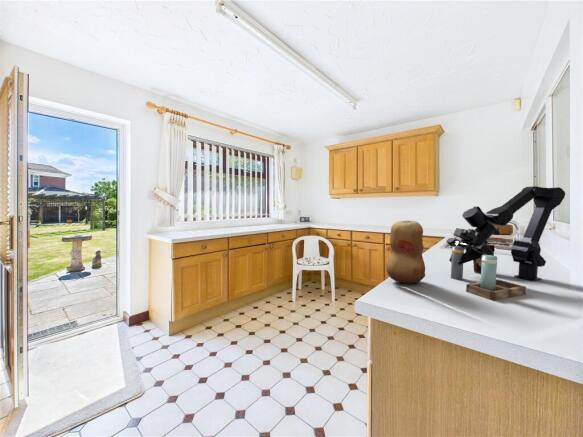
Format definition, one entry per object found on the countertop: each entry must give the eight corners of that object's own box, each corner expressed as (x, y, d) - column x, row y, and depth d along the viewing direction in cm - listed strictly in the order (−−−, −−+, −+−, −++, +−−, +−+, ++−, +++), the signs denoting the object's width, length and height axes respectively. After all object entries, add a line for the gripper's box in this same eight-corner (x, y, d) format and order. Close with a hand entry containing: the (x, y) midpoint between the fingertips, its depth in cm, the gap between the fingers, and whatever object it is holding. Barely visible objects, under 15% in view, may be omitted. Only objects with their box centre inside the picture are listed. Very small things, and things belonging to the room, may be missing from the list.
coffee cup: (499, 275, 107) (501, 246, 106) (480, 275, 108) (481, 246, 107) (484, 270, 116) (485, 242, 115) (466, 270, 116) (467, 242, 115)
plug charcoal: (455, 276, 103) (456, 245, 102) (465, 279, 99) (466, 247, 98) (448, 277, 102) (449, 246, 101) (457, 280, 98) (459, 248, 97)
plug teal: (485, 291, 86) (487, 254, 85) (498, 295, 82) (500, 257, 81) (477, 292, 84) (478, 255, 84) (490, 297, 81) (492, 257, 80)
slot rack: (496, 288, 92) (497, 279, 91) (526, 297, 83) (527, 286, 83) (464, 294, 86) (465, 284, 86) (493, 304, 77) (493, 293, 77)
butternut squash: (383, 286, 94) (385, 221, 92) (387, 276, 106) (389, 218, 104) (425, 292, 87) (427, 222, 86) (424, 281, 99) (426, 220, 98)
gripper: (450, 219, 109) (426, 245, 108) (488, 223, 90) (459, 253, 90) (466, 237, 110) (442, 262, 110) (507, 244, 91) (478, 274, 91)
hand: (454, 262), depth 100 cm, fingers closed on plug charcoal, 4 cm apart
